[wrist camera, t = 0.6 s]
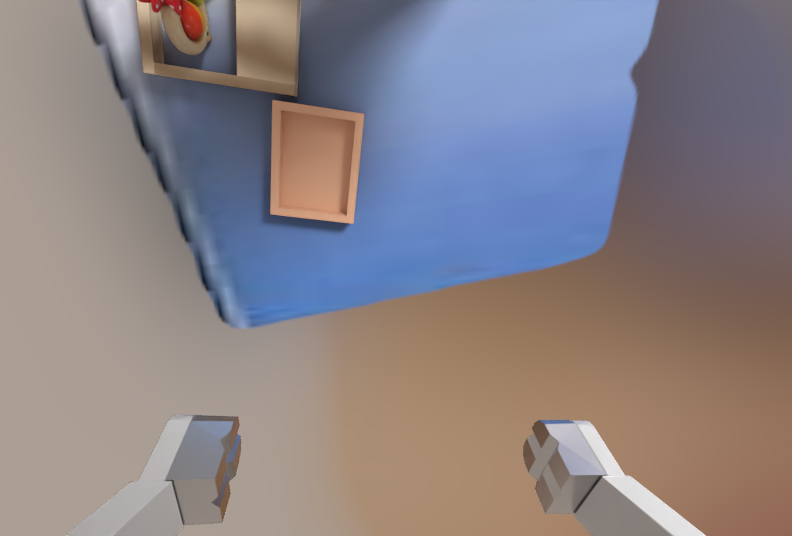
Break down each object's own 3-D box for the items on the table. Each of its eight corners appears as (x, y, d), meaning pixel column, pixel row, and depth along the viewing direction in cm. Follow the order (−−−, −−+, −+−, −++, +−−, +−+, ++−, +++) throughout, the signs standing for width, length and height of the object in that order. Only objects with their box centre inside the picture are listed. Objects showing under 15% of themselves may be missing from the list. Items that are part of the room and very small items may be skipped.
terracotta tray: (276, 100, 47) (272, 99, 44) (364, 113, 48) (364, 113, 46) (274, 209, 52) (270, 214, 50) (353, 219, 53) (353, 223, 51)
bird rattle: (239, 40, 46) (217, -58, 39) (214, 72, 38) (181, -42, 32) (186, 38, 45) (155, -60, 39) (150, 71, 38) (103, -46, 31)
